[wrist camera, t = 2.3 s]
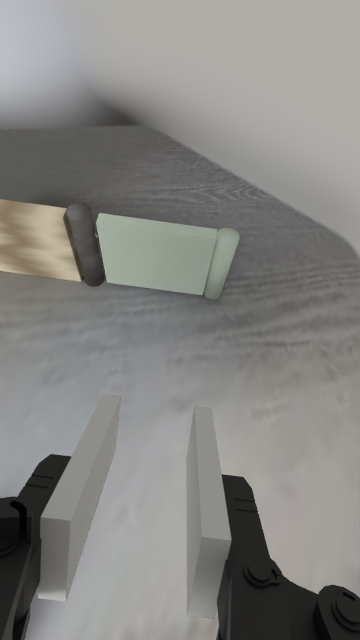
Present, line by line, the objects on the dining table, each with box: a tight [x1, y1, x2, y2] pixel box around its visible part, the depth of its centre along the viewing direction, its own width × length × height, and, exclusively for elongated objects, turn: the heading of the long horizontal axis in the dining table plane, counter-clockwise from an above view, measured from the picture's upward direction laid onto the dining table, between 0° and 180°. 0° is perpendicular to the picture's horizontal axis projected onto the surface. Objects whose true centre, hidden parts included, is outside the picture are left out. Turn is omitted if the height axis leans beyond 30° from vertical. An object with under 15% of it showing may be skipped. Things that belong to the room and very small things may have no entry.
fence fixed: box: [0, 199, 104, 286], centre depth 32 cm, size 14×2×10 cm, turn 84°
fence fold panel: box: [96, 213, 240, 300], centre depth 32 cm, size 12×2×8 cm, turn 84°
